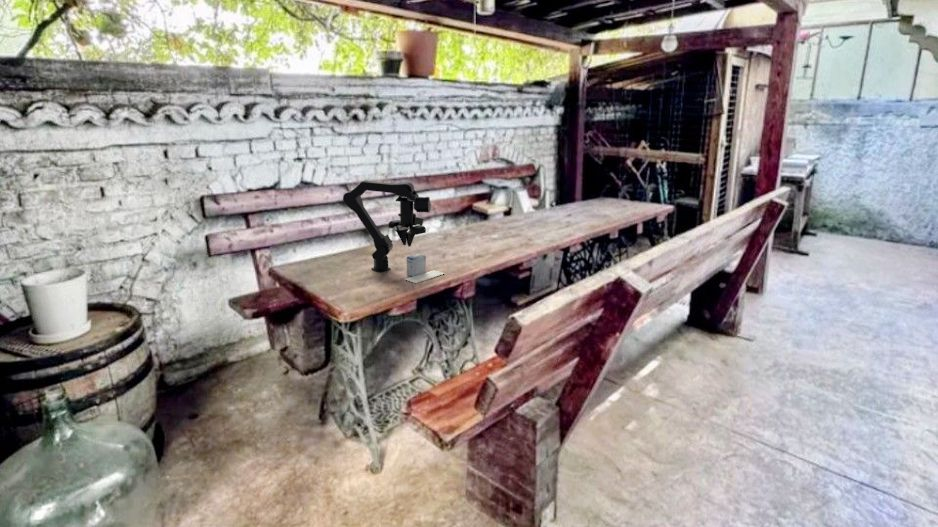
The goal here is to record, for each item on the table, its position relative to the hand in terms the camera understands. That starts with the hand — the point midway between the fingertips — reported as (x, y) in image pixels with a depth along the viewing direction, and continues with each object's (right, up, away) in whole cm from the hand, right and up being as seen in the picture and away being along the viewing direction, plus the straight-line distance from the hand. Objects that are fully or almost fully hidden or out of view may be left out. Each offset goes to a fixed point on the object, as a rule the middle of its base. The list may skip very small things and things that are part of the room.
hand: (407, 245), depth 229 cm
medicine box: (+4, -13, 0) cm, 14 cm away
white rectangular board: (+8, -14, -4) cm, 17 cm away
